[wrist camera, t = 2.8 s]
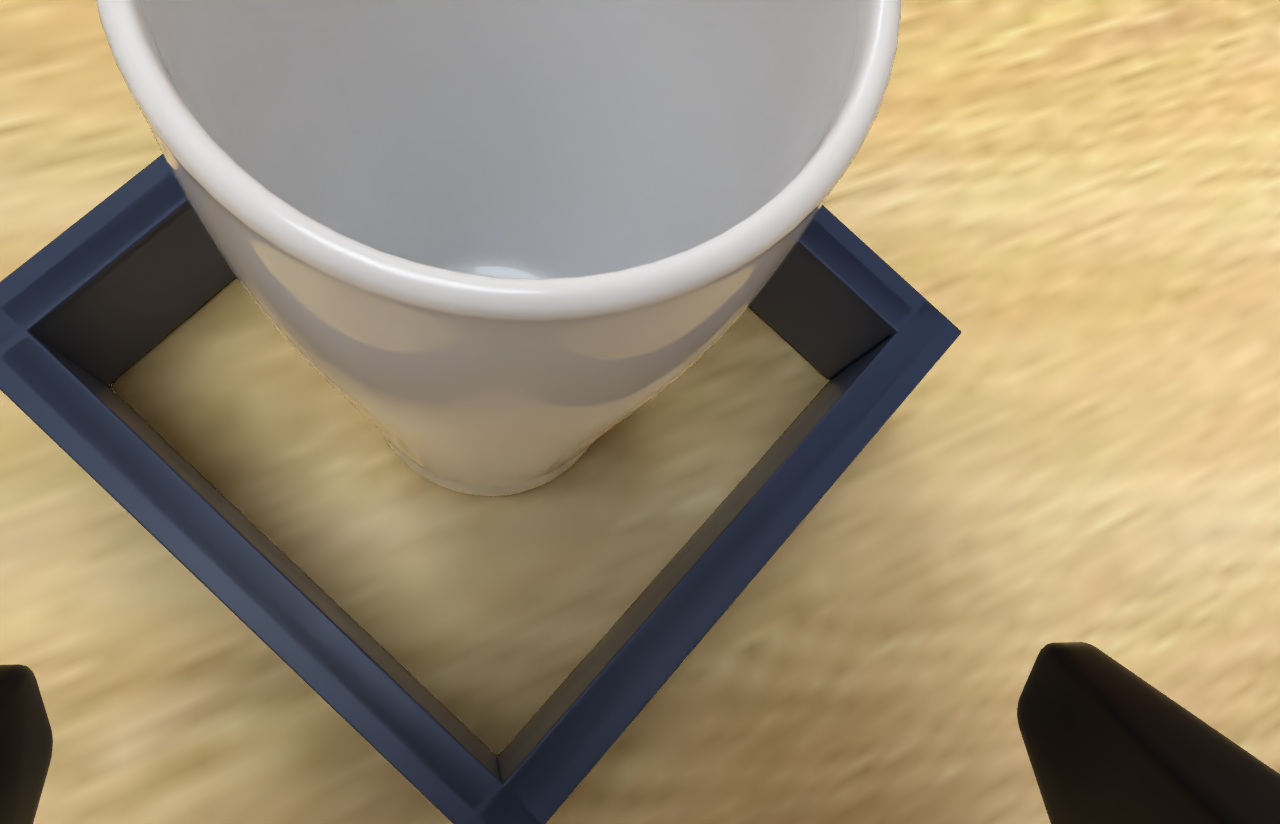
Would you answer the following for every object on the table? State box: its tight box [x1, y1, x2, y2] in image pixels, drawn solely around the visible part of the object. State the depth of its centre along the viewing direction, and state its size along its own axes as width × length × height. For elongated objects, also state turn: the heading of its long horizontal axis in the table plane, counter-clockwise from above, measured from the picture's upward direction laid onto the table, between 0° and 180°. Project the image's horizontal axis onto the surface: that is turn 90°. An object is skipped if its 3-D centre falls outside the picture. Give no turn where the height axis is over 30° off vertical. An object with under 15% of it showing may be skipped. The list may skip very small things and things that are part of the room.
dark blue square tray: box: [0, 154, 961, 824], centre depth 20 cm, size 13×13×4 cm
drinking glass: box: [96, 0, 901, 496], centre depth 15 cm, size 7×7×15 cm
